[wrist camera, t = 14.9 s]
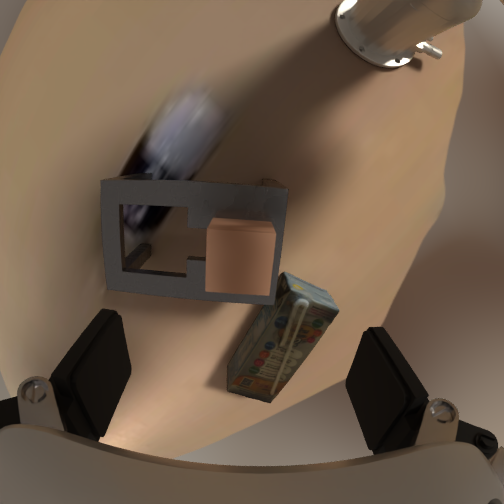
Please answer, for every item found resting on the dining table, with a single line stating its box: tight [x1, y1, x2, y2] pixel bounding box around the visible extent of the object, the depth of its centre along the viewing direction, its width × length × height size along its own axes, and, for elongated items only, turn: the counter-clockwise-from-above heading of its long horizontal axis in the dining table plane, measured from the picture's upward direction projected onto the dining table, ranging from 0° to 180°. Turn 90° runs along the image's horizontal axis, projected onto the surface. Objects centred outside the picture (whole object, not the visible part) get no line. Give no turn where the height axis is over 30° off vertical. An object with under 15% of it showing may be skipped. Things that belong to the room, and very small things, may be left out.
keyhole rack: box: [101, 173, 289, 305], centre depth 30 cm, size 17×11×11 cm, turn 85°
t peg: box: [205, 218, 276, 296], centre depth 26 cm, size 5×5×10 cm
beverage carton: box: [227, 272, 339, 403], centre depth 38 cm, size 8×19×7 cm, turn 154°
